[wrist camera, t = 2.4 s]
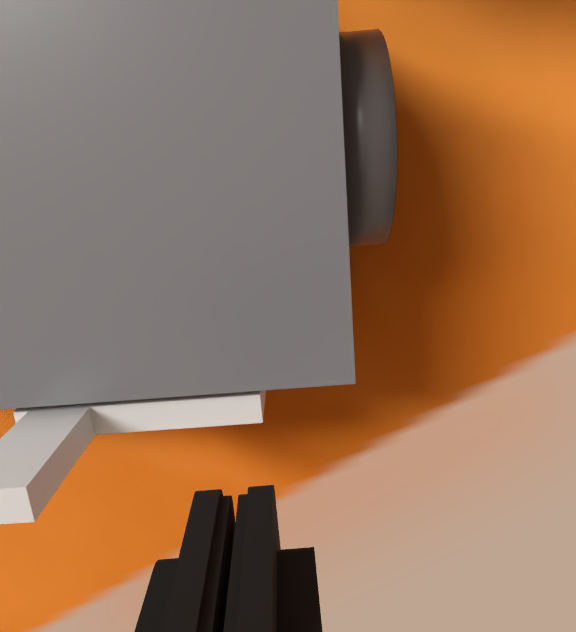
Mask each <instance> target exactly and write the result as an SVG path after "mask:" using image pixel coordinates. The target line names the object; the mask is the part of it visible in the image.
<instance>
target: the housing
mask: <svg viewBox="0 0 576 632" xmlns="http://www.w3.org/2000/svg"><path fill="white" fill-rule="evenodd" d="M396 178H397V131H396V110H395V97H394V87H393V78H392V71H391V64H390V58H389V53H388V49H387V45H386V42H385V39H384V36H383V34H382V32H381V31H380V30H379V29H375V30H364V31H353V32H341V33H339V25H338V4H337V0H0V409H14V408H28V407H42V406H56V405H70V404H83V403H97V402H111V401H125V400H139V399H153V398H167V397H180V396H194V395H208V394H222V393H236V392H250V391H264V390H277V389H291V388H305V387H319V386H333V385H347V384H356V381H355V360H354V339H353V318H352V297H351V276H350V255H349V247H351V246H364V245H377V244H385V243H386V242H387V240H388V238H389V235H390V232H391V227H392V222H393V216H394V207H395V196H396Z"/></svg>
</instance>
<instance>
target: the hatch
mask: <svg viewBox="0 0 576 632" xmlns="http://www.w3.org/2000/svg"><path fill="white" fill-rule="evenodd" d="M265 396H266V390H264V391H250V392H236V393H222V394H208V395H194V396H180V397H167V398H153V399H139V400H125V401H111V402H97V403H83V404H70V405H56V406H42V407H28V408H17V409H16V410H15V411H14V412H13V414H14V418H15V422H16V424H15V425H14V426H13V427H12V428H11V429H10V430H9V431H8V432H7V433H6V434H5V435H4V436H3V437H2V438H1V439H0V524H10V523H25V522H35V521H36V519H37V518H38V516H39V515H40V513H41V512H42V511H43V509H44V508H45V506H46V505H47V503H48V502H49V500H50V499H51V498H52V496H53V495H54V493H55V492H56V490H57V489H58V488H59V486H60V485H61V483H62V482H63V480H64V479H65V477H66V476H67V475H68V473H69V472H70V470H71V469H72V467H73V466H74V465H75V463H76V462H77V460H78V459H79V457H80V456H81V454H82V453H83V452H84V450H85V449H86V447H87V446H88V444H89V443H90V442H91V440H92V439H93V437H94V436H95V435H98V434H112V433H126V432H140V431H154V430H168V429H182V428H197V427H211V426H225V425H239V424H253V423H263V416H264V406H265Z"/></svg>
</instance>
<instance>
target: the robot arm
mask: <svg viewBox="0 0 576 632" xmlns="http://www.w3.org/2000/svg"><path fill="white" fill-rule="evenodd" d="M135 632H322V624H321V614H320V604H319V593H318V583H317V574H316V563H315V553H314V547H310V548H298V549H286V550H280V540H279V530H278V520H277V510H276V499H275V490H274V485H268V486H255V487H249V488H248V494H244V495H239V497H238V505H237V514H236V523H235V516H234V508H233V500H232V496H223V493H222V490H221V489H219V490H206V491H196V492H195V494H194V497H193V501H192V505H191V509H190V513H189V518H188V522H187V526H186V530H185V534H184V538H183V542H182V546H181V550H180V554H179V558H175V559H163V560H158V561H157V562H156V564H155V566H154V569H153V572H152V575H151V579H150V582H149V585H148V589H147V592H146V595H145V599H144V602H143V605H142V609H141V612H140V615H139V619H138V622H137V625H136V629H135Z"/></svg>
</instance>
